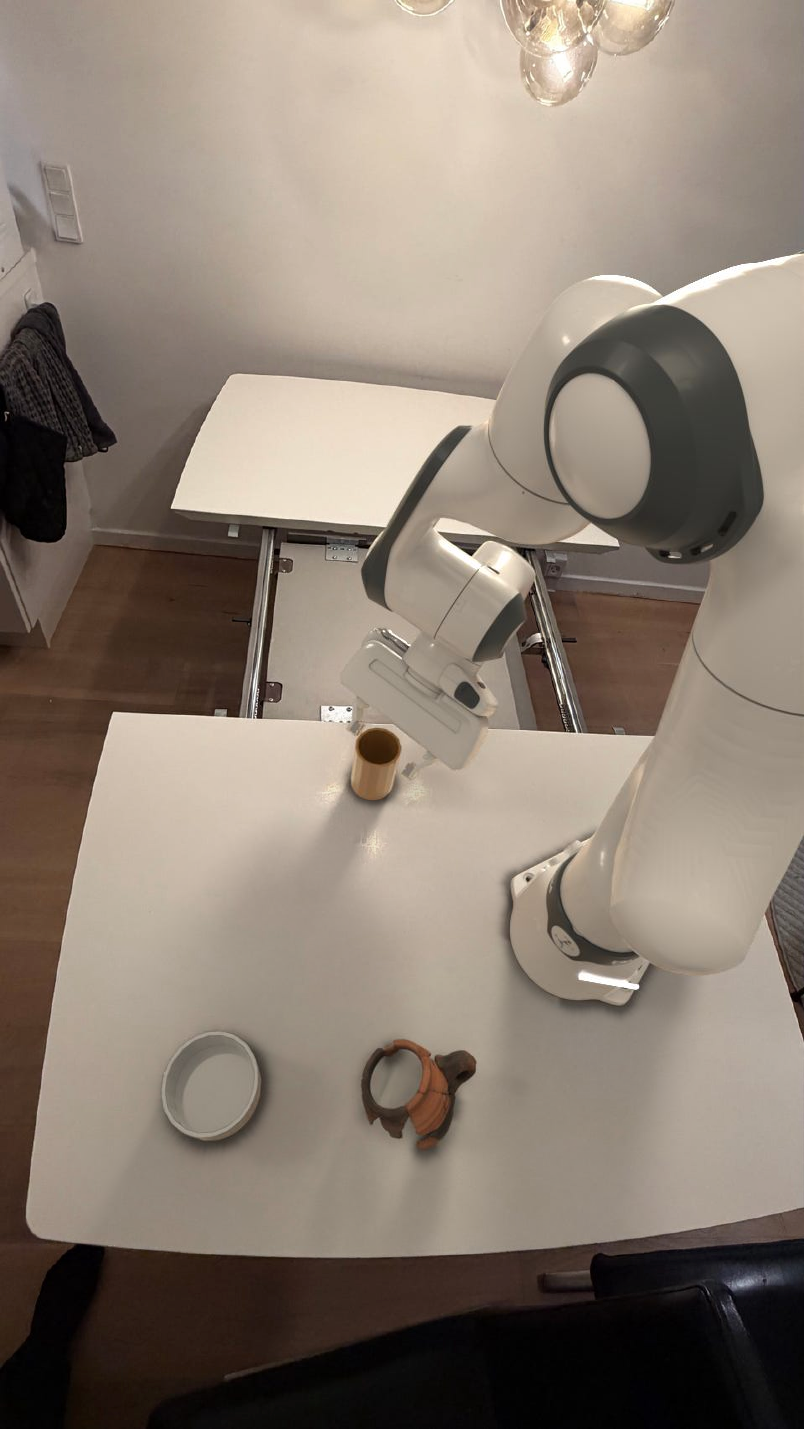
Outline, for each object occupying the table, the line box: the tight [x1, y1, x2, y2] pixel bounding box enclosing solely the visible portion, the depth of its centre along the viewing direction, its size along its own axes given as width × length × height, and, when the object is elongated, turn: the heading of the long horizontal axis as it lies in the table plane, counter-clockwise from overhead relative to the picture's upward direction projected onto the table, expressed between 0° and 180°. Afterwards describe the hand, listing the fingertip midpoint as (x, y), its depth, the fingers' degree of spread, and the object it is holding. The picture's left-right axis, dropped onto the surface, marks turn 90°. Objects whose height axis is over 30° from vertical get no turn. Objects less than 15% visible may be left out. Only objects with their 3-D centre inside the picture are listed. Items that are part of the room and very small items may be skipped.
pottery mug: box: [360, 1038, 477, 1151], centre depth 68 cm, size 12×10×8 cm
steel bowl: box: [160, 1030, 262, 1142], centre depth 65 cm, size 9×9×6 cm
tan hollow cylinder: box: [350, 727, 402, 801], centre depth 87 cm, size 6×6×9 cm
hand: (379, 754), depth 86 cm, fingers open, 8 cm apart
